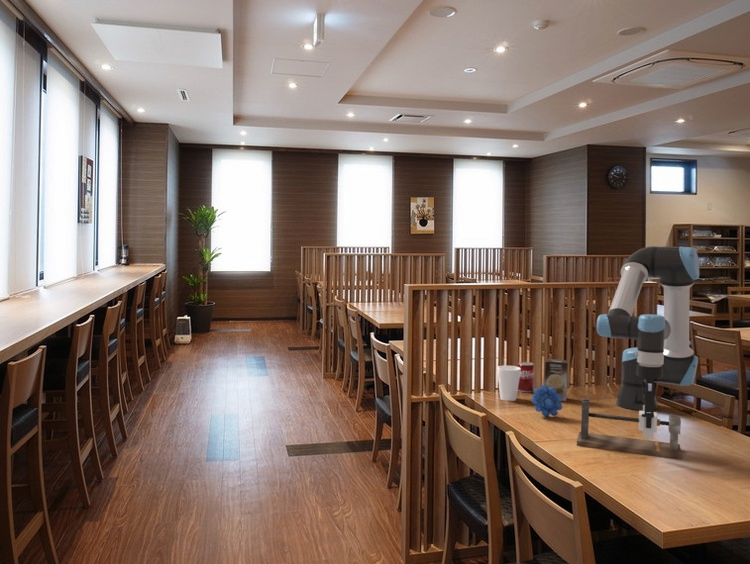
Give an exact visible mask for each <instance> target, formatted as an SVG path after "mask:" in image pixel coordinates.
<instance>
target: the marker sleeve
mask: <svg viewBox="0 0 750 564" xmlns="http://www.w3.org/2000/svg"><path fill="white" fill-rule="evenodd" d="M644 413H645V411H643V410H638V418H639V422H638V431H641V432H643V424H644V417H642V414H644ZM647 413H650V412H647ZM657 419H658V412H657V411H656V412H655V411H654V423H653V433H657V431H658V427H657Z"/></svg>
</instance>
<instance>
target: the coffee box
mask: <svg viewBox="0 0 750 564" xmlns="http://www.w3.org/2000/svg"><path fill="white" fill-rule="evenodd" d="M568 365H569V361H568V360H567V359H566V360H565V359H555V358H545V362H544V383H543V385H546V386H547V387H548V389H549V388H550V387H554V388H555V389H556V391H557V392H556V394H560V395H561V397H562V400H561V401H560V402H567V393H568V391H567V390H568V369H569V368H568V367H569V366H568Z"/></svg>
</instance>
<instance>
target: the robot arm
mask: <svg viewBox="0 0 750 564" xmlns="http://www.w3.org/2000/svg"><path fill="white" fill-rule="evenodd" d="M620 276H621V277H620V280H619V281H618V282H619V283H618V285H617V288H616V291H615V293H614V296H613V299H612V302H611V304H610V307H609V309H608V311H607V313H604V314H602V313H601V314H599V315H598V317H597V320H596V333H597V334H598V335H599V336H600V337H606V338H610V339H611V338H613V339H626V340H627V339H628V340H634V341H635V340H636V341H637V347H630V348H627V349H625V350H623V352H622V357H621V358H622V360H621V385H620V388H619V390H618V393H617V395H616V398H615V404H616V405H617V406H619V407H620V408H621V407H622V408H625V409H629V410H635V411H645V413H644V414H642V417H644V424H643V431H642V438H644V439H648V440H649V439H651V440H654V432H653V423H654V412H655V410H657V409H658V400H657V398H656V397H657V396H656V391H657V383H661V384H669V385H675V386H684V387H685V386H686V387H687V386H688V387H689V386H692V385H693V384H694V382H695V377H696V374H697V369H698V365H699V356H697V355H694V349H692V348H691V347H690V295H691V293H690V292H691V291H690V290H691V287H692V286H693V285H694V284H695V281H696V280H698V279H699V278H700V261H699V255H698V252H697V250H696V249H695V248H694V247H691V246H690V247H688V246H653V245H652V246H645V247H642V248H640V249H638V250H636V251H635V252H633V253H632V254H630V255H629V257H627V258H626V259H625V261H624V262H623V264H622V266H621V269H620ZM649 278H653V279H654V278H655V279H656V278H657V279H659V281H658V282H659V285H661V286H662V288H663V315H661V314H652V313H651V314H650V313H649V314H647V313H646V314H640V315H639V316H633V313H634V311H635V307H636V305H637V302H638V298H639V295H640V292H641V291H642V286H643V283H645V282H646V281H647V280H648V279H649ZM647 412H650V413H647Z"/></svg>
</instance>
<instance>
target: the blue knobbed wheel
mask: <svg viewBox="0 0 750 564" xmlns="http://www.w3.org/2000/svg"><path fill="white" fill-rule="evenodd" d="M556 392H557V391H556V389H555V388H554V387H550V388H549V389H548V387H547V386H546V385H544V384H541V386H540V388H538V387H537V388H534V391H533V394H534V395H533V396H531V398H530V400H531V403H532V404H535V405H534V407H533V408H534V410H535V411H536V412H538V413H540V412H541V415H542V416H544V417H547V418H548V417H549V416H550V415H551V416H554V417H555V416H558V413H559V412H558V411H561V410H562V409H563V404H562V403H561V402H562V401H561V400H562V397H561V395H560V394H556Z"/></svg>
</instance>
